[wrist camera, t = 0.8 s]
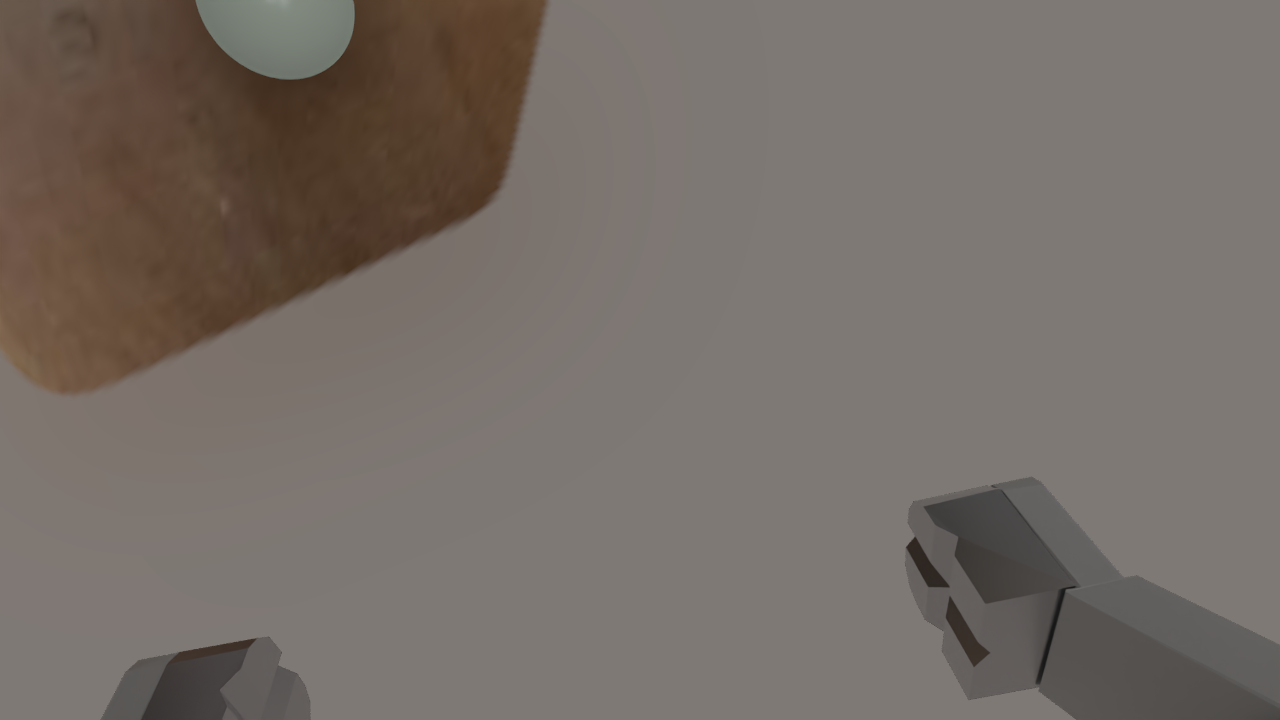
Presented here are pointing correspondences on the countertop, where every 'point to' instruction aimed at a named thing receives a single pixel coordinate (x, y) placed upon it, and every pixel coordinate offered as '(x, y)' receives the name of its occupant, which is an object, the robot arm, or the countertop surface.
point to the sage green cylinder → (280, 33)
